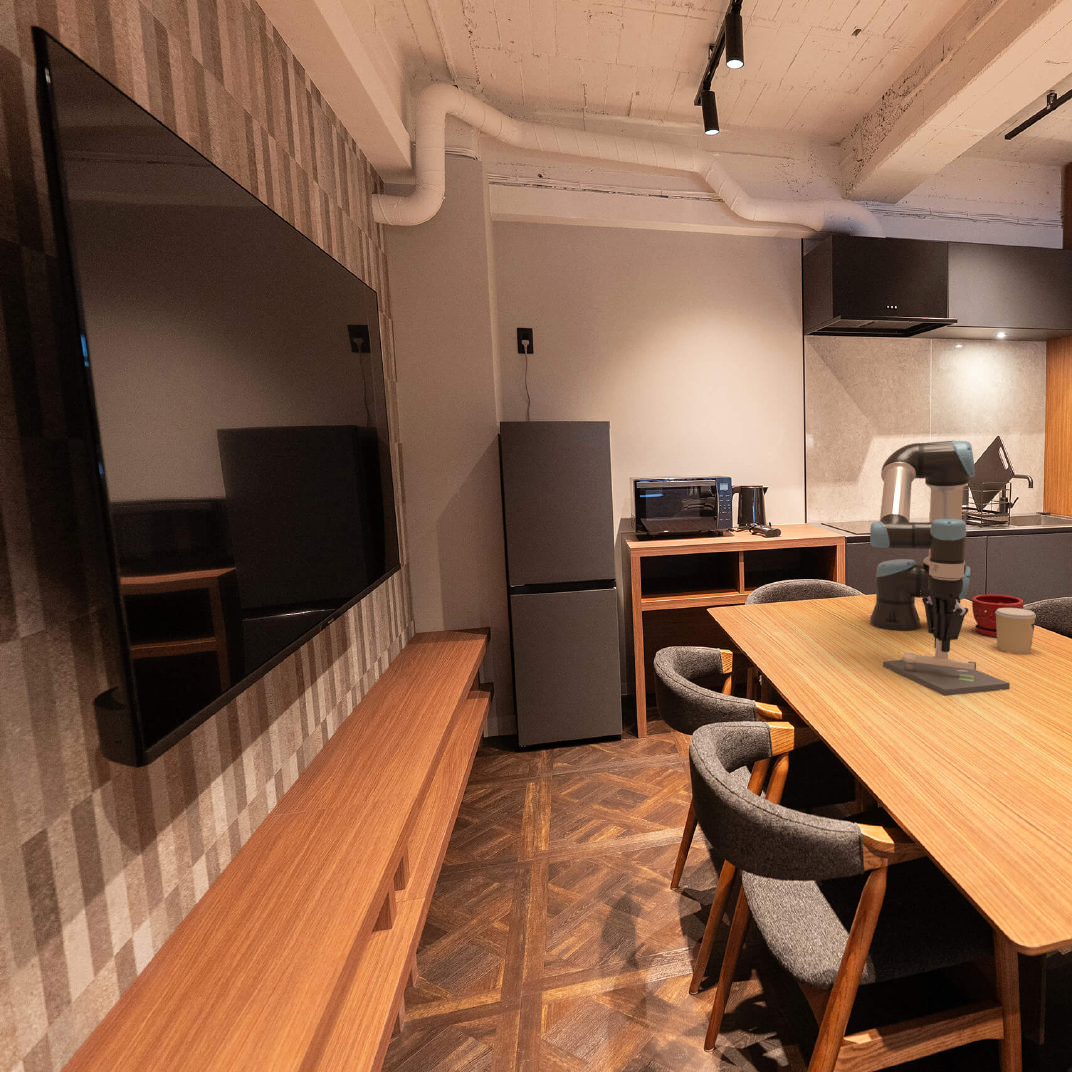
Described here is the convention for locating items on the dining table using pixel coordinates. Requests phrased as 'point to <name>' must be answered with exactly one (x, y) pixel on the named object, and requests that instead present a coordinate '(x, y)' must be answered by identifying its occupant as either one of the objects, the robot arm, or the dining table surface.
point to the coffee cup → (1015, 630)
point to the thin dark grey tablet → (946, 677)
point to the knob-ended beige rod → (939, 661)
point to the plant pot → (991, 611)
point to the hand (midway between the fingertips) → (941, 661)
